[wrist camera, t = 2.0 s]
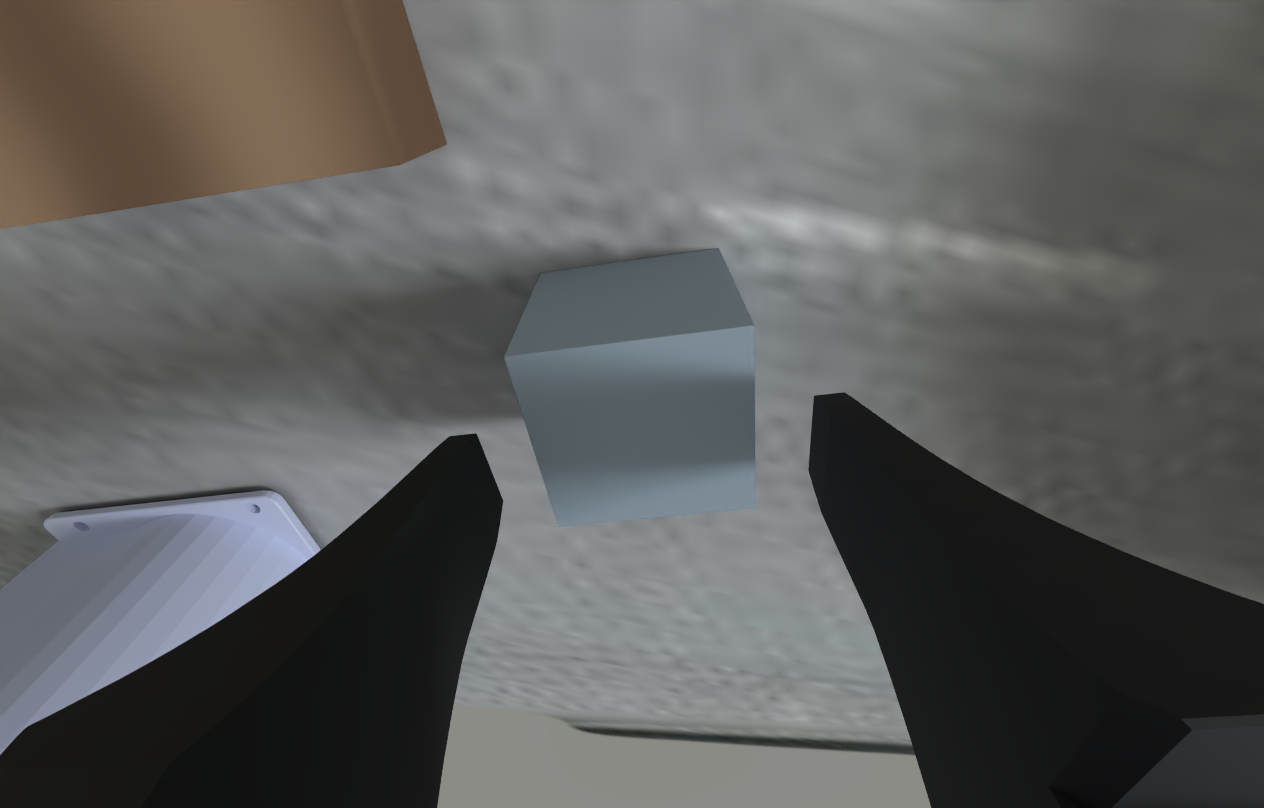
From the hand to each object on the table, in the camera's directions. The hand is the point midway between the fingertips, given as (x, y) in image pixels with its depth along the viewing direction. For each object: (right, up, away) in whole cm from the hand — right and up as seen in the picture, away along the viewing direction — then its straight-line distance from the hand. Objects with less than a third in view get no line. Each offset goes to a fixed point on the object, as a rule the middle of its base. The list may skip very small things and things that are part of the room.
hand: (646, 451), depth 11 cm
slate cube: (0, +3, +5) cm, 6 cm away
